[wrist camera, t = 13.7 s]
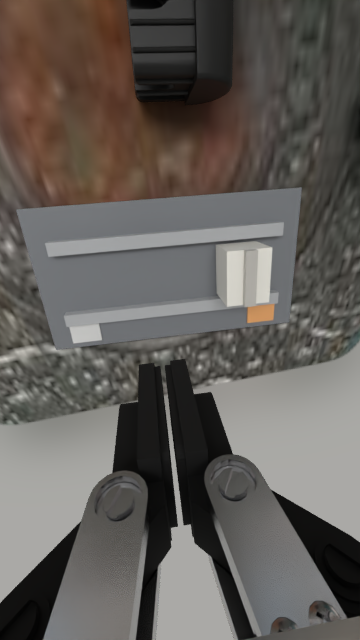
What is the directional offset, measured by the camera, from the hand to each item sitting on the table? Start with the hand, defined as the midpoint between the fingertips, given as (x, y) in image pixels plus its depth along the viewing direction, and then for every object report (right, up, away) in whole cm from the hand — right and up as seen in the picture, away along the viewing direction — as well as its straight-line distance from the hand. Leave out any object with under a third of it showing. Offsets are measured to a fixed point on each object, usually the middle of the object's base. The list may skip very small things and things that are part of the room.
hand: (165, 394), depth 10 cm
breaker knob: (+6, +8, +18) cm, 21 cm away
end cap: (0, +26, +12) cm, 28 cm away
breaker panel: (-1, +8, +19) cm, 21 cm away
